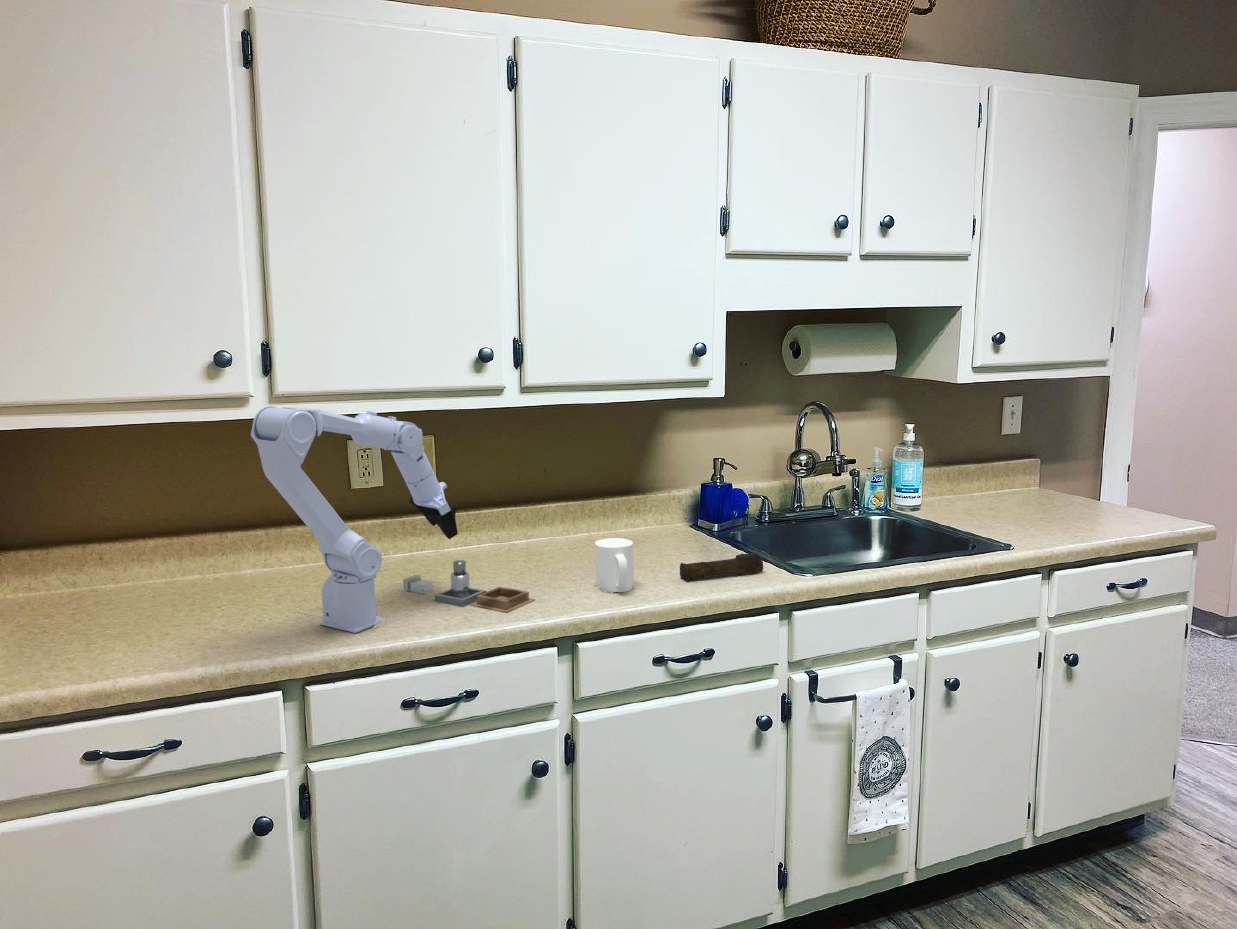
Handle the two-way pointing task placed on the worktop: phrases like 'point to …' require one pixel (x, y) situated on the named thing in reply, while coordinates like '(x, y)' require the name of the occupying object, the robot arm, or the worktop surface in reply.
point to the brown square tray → (503, 599)
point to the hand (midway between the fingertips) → (444, 529)
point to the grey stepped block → (417, 585)
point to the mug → (614, 564)
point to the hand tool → (723, 567)
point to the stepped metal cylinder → (460, 580)
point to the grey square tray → (448, 599)
